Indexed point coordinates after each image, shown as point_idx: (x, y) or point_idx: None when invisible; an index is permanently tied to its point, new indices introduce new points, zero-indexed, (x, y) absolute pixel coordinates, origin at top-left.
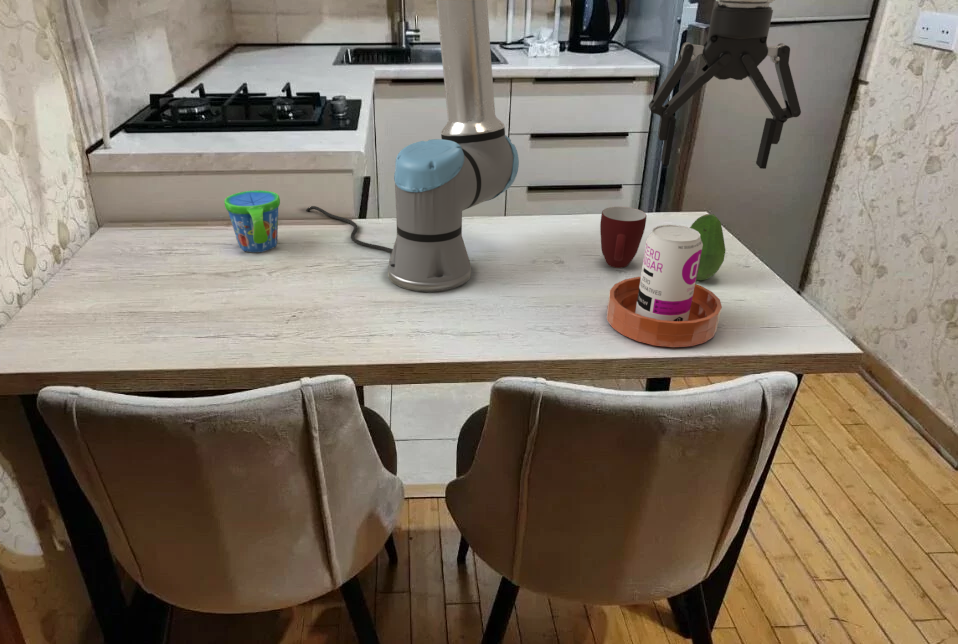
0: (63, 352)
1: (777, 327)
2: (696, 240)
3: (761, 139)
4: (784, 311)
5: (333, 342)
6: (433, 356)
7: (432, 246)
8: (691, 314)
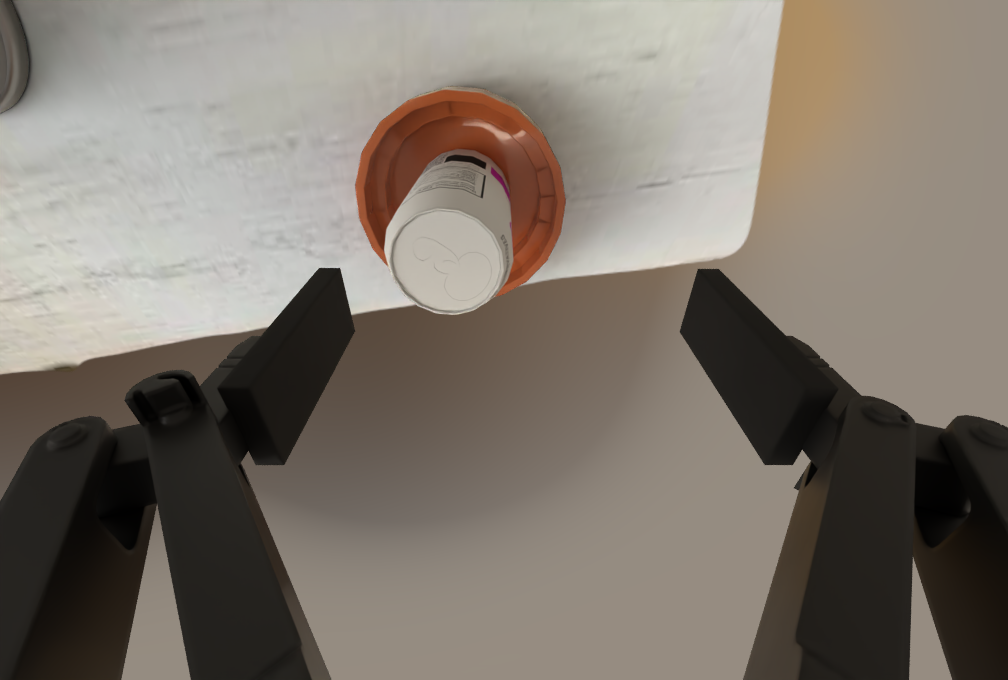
0: None
1: (668, 183)
2: (490, 297)
3: (742, 324)
4: (717, 106)
5: (5, 317)
6: (160, 334)
7: None
8: (524, 160)
